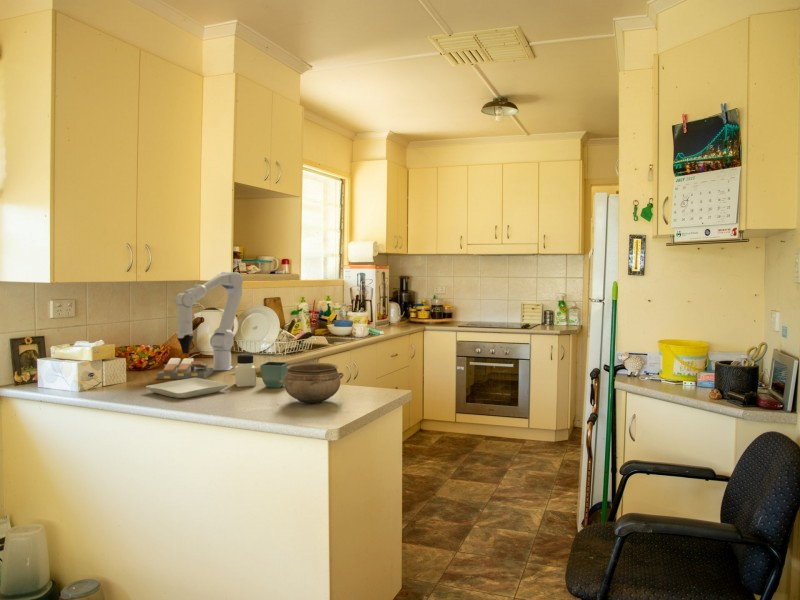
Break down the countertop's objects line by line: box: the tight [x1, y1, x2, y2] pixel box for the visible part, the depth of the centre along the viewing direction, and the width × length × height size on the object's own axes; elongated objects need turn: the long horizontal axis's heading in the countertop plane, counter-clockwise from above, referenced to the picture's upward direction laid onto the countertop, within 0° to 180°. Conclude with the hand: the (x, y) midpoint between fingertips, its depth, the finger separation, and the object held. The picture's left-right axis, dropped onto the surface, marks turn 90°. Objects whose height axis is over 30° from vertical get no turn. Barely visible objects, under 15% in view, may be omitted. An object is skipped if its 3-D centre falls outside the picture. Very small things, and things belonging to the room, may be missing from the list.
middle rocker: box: [177, 357, 195, 372], centre depth 263 cm, size 10×4×1 cm, turn 3°
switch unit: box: [156, 364, 214, 380], centre depth 263 cm, size 14×19×5 cm
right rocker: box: [191, 360, 207, 368], centre depth 263 cm, size 10×4×1 cm, turn 3°
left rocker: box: [163, 357, 182, 372], centre depth 262 cm, size 10×4×1 cm, turn 3°
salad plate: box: [145, 378, 228, 399], centre depth 228 cm, size 21×21×3 cm
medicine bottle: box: [234, 353, 257, 388], centre depth 243 cm, size 7×7×12 cm
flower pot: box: [259, 361, 290, 389], centre depth 240 cm, size 9×9×9 cm
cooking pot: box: [279, 362, 344, 405], centre depth 212 cm, size 25×19×12 cm
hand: (185, 353), depth 265 cm, fingers closed
